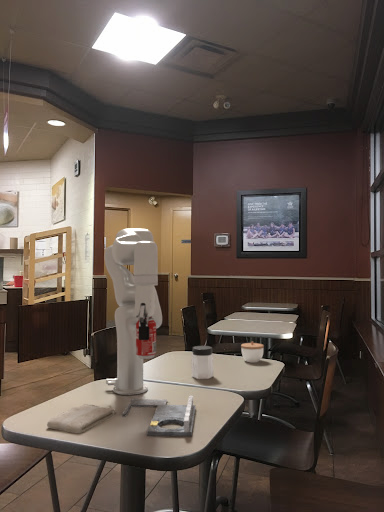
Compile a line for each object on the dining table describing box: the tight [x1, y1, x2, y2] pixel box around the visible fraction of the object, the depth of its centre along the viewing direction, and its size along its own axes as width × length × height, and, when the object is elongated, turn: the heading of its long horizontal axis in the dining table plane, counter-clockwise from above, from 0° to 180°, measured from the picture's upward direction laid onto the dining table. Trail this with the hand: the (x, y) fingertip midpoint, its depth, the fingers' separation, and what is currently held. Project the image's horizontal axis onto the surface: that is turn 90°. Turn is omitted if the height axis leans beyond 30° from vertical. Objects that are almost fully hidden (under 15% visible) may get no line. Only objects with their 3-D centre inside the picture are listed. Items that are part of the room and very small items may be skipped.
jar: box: [191, 345, 214, 380], centre depth 182 cm, size 9×8×12 cm
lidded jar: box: [240, 341, 265, 364], centre depth 210 cm, size 11×11×9 cm
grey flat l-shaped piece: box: [121, 398, 168, 418], centre depth 141 cm, size 12×16×1 cm
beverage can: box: [136, 318, 157, 360], centre depth 138 cm, size 6×6×12 cm
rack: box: [146, 395, 196, 438], centre depth 130 cm, size 12×23×4 cm, turn 177°
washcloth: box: [46, 403, 115, 434], centre depth 131 cm, size 12×18×3 cm, turn 157°
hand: (146, 337), depth 138 cm, fingers closed on beverage can, 6 cm apart
